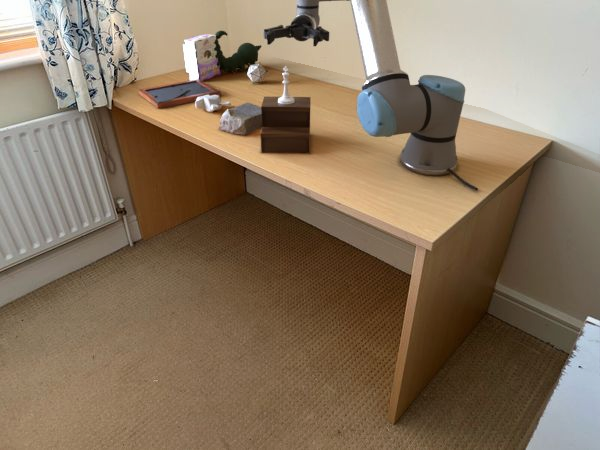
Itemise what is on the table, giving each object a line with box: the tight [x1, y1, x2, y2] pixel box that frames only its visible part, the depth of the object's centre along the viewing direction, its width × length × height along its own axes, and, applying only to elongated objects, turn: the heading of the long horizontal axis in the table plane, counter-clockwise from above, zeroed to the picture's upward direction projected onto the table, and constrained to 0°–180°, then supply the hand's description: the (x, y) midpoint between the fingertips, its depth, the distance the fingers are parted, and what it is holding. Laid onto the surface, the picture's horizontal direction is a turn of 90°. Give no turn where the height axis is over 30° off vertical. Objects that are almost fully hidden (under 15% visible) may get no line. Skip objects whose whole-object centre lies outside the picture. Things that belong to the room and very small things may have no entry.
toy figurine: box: [214, 30, 262, 74], centre depth 192 cm, size 9×19×25 cm
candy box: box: [183, 33, 221, 82], centre depth 183 cm, size 14×6×16 cm, turn 149°
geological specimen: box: [218, 102, 262, 136], centre depth 141 cm, size 11×6×15 cm
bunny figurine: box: [194, 95, 232, 113], centre depth 153 cm, size 10×5×15 cm
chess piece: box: [278, 65, 295, 104], centre depth 124 cm, size 5×5×10 cm
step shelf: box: [259, 96, 311, 155], centre depth 128 cm, size 14×14×12 cm
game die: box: [244, 61, 269, 85], centre depth 180 cm, size 9×8×10 cm
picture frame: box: [138, 79, 221, 109], centre depth 168 cm, size 20×2×25 cm
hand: (291, 40), depth 125 cm, fingers open, 13 cm apart
